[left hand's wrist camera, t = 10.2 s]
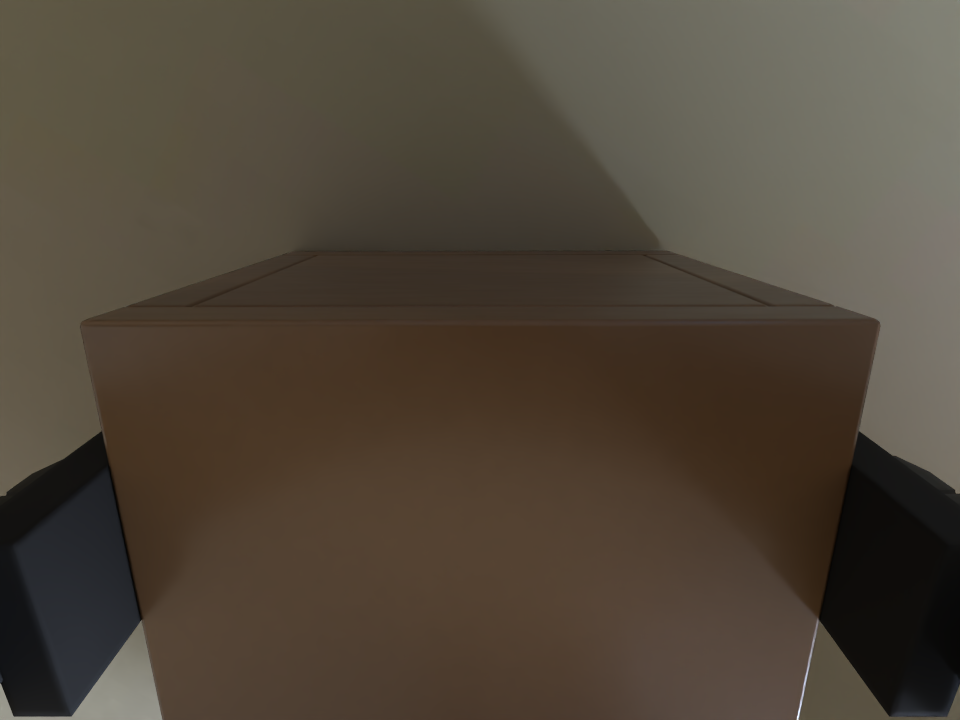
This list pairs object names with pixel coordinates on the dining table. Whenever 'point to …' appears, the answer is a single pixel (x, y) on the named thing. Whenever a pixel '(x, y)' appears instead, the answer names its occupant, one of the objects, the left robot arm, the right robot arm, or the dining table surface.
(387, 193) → the dining table surface
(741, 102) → the dining table surface
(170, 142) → the dining table surface
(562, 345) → the cabinet
